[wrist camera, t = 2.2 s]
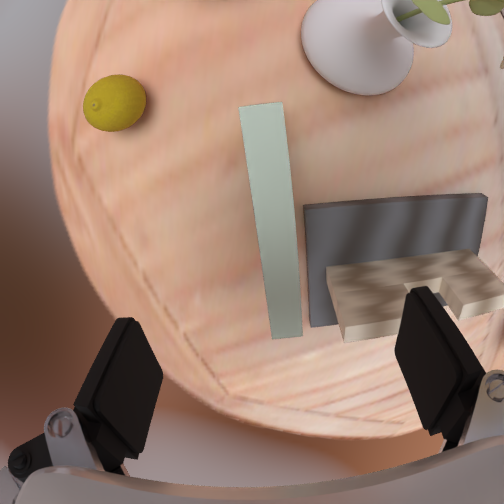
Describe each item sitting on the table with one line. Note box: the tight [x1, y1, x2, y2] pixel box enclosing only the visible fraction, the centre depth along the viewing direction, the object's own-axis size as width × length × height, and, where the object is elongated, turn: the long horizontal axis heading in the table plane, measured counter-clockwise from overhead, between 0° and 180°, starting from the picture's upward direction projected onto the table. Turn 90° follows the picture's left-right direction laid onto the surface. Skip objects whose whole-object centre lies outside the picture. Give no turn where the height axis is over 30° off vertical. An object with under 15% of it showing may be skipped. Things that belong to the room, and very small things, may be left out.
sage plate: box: [238, 102, 303, 339], centre depth 23 cm, size 14×2×16 cm, turn 8°
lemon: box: [83, 75, 146, 132], centre depth 23 cm, size 6×6×8 cm
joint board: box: [303, 193, 504, 343], centre depth 29 cm, size 24×16×12 cm, turn 98°
